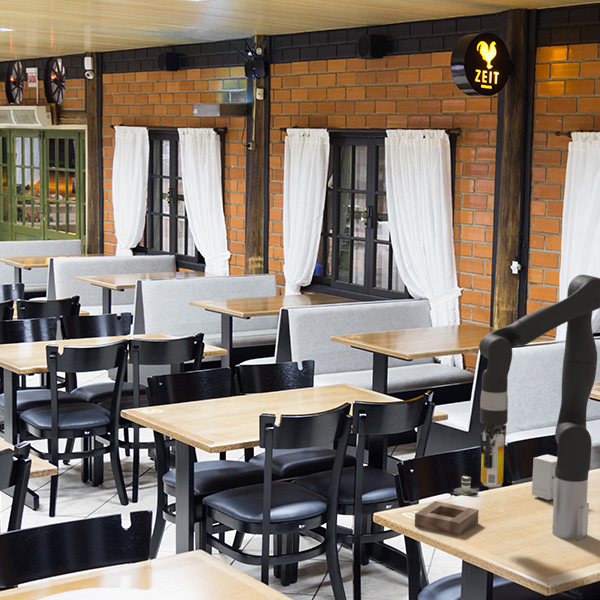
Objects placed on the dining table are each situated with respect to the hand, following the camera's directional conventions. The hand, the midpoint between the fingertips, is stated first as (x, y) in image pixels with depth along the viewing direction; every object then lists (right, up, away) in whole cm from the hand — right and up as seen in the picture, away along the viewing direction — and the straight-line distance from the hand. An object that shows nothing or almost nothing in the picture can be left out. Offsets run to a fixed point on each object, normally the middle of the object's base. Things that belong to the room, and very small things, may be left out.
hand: (492, 464), depth 271 cm
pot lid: (+1, -17, +49) cm, 52 cm away
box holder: (-11, -21, +14) cm, 27 cm away
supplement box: (+27, -18, +44) cm, 55 cm away
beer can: (0, -6, +1) cm, 6 cm away
